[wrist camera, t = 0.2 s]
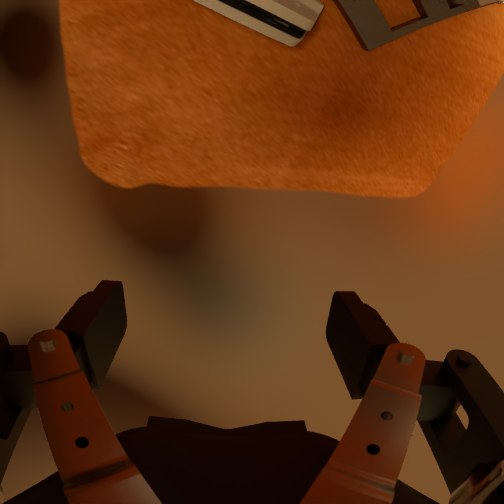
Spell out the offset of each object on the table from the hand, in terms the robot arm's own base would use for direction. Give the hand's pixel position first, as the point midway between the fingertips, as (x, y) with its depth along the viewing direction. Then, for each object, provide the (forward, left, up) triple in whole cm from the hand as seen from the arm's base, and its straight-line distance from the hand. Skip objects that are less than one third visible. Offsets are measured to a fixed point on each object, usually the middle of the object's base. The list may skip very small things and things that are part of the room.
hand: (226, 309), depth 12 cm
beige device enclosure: (-11, +9, -32) cm, 34 cm away
